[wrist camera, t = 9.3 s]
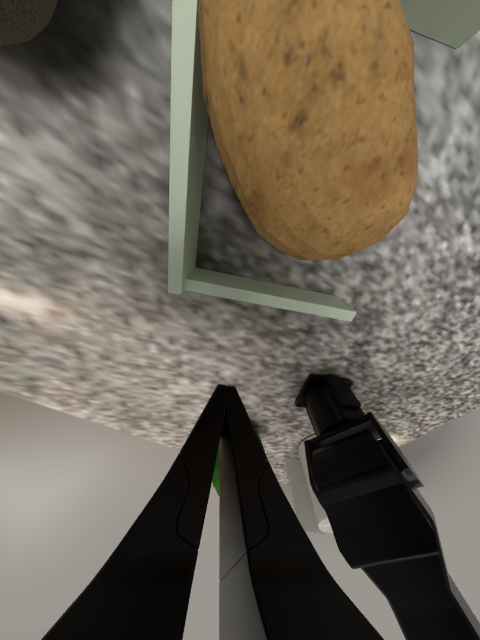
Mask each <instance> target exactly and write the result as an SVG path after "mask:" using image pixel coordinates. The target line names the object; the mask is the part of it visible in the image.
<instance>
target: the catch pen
mask: <svg viewBox="0 0 480 640" xmlns="http://www.w3.org/2000/svg"><path fill="white" fill-rule="evenodd" d="M399 1H400V4H401V7H402V10H403V13H404V16H405V19H406V21H407V24H408V27H409V29H410V30H412V31H414V32H417V33H419V34H422V35H424V36H427V37H429V38H431V39H434V40H436V41H439V42H441V43H444V44H446V45H448V46H451V47H453V48H456V49H457V48H458V47H459V46H461V45H462V44H463V43H464V42H466V41H467V40H468V39H469V38H471V37H472V36H473V35H475V34H476V33H477V32H478V31H480V0H399ZM199 2H200V0H172V58H171V123H170V187H169V252H168V293H173V294H178V295H182V293H183V292H184V291H189V292H194V293H200V294H205V295H210V296H216V297H221V298H227V299H232V300H237V301H243V302H248V303H253V304H259V305H264V306H270V307H275V308H280V309H286V310H291V311H296V312H302V313H307V314H313V315H318V316H323V317H329V318H334V319H339V320H345V321H350V322H351V321H352V320H353V318H354V316H355V315H356V313H357V312H356V311H355V310H354V309H352V308H351V307H349V306H348V305H347V304H345V303H344V302H343V301H341V300H340V299H339V298H337V297H336V296H334V295H329V294H324V293H319V292H314V291H309V290H304V289H299V288H294V287H289V286H284V285H279V284H275V283H270V282H265V281H260V280H255V279H250V278H245V277H240V276H235V275H230V274H225V273H220V272H215V271H210V270H205V269H200V268H195V267H196V255H197V244H198V233H199V221H200V210H201V198H202V187H203V175H204V164H205V152H206V141H207V129H208V118H209V115H208V112H207V108H206V104H205V100H204V97H203V84H202V66H201V48H200V31H199V13H198V8H199Z"/></svg>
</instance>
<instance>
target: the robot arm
mask: <svg viewBox="0 0 480 640" xmlns="http://www.w3.org/2000/svg"><path fill="white" fill-rule="evenodd" d="M352 385H353V382H352V381H351V380H349V379H342V378H335V377H329V376H322V375H315V374H312V375H310V376H309V377H308V379H307V381H306V383H305V385H304V386H303V388H302V390H301V392H300V394H299V396H298V397H297V399H296V401H295V404H296V406H297V407H305V408H306V410H307V413H308V415H309V418H310V421H311V423H312V426H313V429H314V431H315V434H316V437H314V438H312V439H310V440H305V441H304V445H305V454H306V461H307V467H308V474H309V480H310V485H311V487H312V491H313V493H314V494H315V495H316V498H317V500H318V501H319V503H320V505H321V506H322V508H323V509H324V510H325V512H326V515H327V517H328V520H329V522H330V525H331V528H332V531H333V534H334V537H335V540H336V543H337V546H338V548H339V550H340V552H341V554H342V555H343V557H344V558H345V560H346V561H347V563H348V564H349V565H350V567H351V568H353V569H357V568H361V569H362V570H363V571H364V572H365V573H366V574H367V576H368V577H369V578H370V579H371V581H372V582H373V583H374V584H375V585H376V586H377V587H378V589H379V590H380V591H381V592H382V593H383V595H384V596H385V597H386V598H387V600H388V602H389V604H390V606H391V608H392V610H393V612H394V614H395V617H396V618H397V621H398V623H399V625H400V628H401V630H402V632H403V634H404V636H405V639H406V640H480V623H479V622H478V620H477V619H476V617H475V615H474V614H473V612H472V611H471V609H470V607H469V606H468V604H467V603H466V601H465V599H464V598H463V596H462V595H461V593H460V591H459V590H458V588H457V587H456V585H455V583H454V582H453V580H452V579H451V577H450V575H449V574H448V571H447V568H446V563H445V559H444V555H443V551H442V547H441V542H440V538H439V534H438V530H437V525H436V521H435V517H434V514H433V512H432V510H431V509H430V507H429V506H428V504H427V503H426V501H425V500H424V498H423V497H422V495H421V494H420V492H419V491H418V490H417V488H420V487H423V484H422V482H421V481H420V479H419V478H418V476H417V475H416V473H415V472H414V470H413V468H412V467H411V465H410V464H409V462H408V461H407V459H406V458H405V456H404V455H403V453H402V452H401V450H400V449H399V447H398V446H397V445H396V443H395V442H394V441H393V439H392V438H391V436H390V435H389V434H388V432H387V431H386V430H385V428H384V427H383V426H382V425H381V424H380V422H379V421H378V420H377V419H376V418H375V417H374V415H373V414H372V413H371V412H369V413H367V414H366V415H365V414H364V412H363V411H362V409H361V408H360V407H361V404H360V402H359V401H358V399H357V398H356V396H355V395H354V393H353V392H352V391H351V389H350V388H351V386H352ZM380 438H382V439H380ZM378 439H380V440H378ZM219 442H220V567H219V569H220V570H219V572H220V573H219V574H220V575H219V576H220V577H219V579H220V583H219V586H220V588H219V589H220V590H219V612H220V613H219V616H220V617H219V618H220V619H219V621H220V622H219V640H384V639H383V638H382V637H381V636H380V634H379V633H378V632H377V631H376V630H375V628H374V627H373V626H372V625H371V624H370V622H369V621H368V620H367V619H366V618H365V617H364V615H363V614H362V613H361V612H360V611H359V609H358V608H357V607H356V606H355V605H354V603H353V602H352V601H351V600H350V599H349V597H348V596H347V595H346V594H345V593H344V592H343V590H342V589H341V588H340V587H339V585H338V584H337V583H336V581H335V580H334V579H333V577H332V576H331V575H330V573H329V572H328V570H327V569H326V567H325V566H324V564H323V562H322V561H321V559H320V557H319V556H318V554H317V552H316V550H315V549H314V547H313V545H312V543H311V541H310V540H309V538H308V536H307V534H306V532H305V531H304V529H303V527H302V525H301V523H300V522H299V520H298V518H297V516H296V514H295V513H294V511H293V509H292V508H291V505H290V504H289V502H288V500H287V498H286V496H285V494H284V492H283V490H282V489H281V487H280V485H279V482H278V480H277V478H276V476H275V474H274V472H273V470H272V467H271V465H270V463H269V461H267V460H268V459H267V456H266V454H265V452H264V450H263V447H262V445H261V443H260V441H259V439H258V436H257V434H256V432H255V430H254V427H253V425H252V423H251V421H250V418H249V416H248V414H247V412H246V409H245V407H244V405H243V403H242V401H241V398H240V396H239V394H238V392H237V389H236V387H235V386H230V385H227V386H226V385H222V384H218V385H217V387H216V389H215V391H214V392H213V394H212V396H211V398H210V399H209V401H208V403H207V405H206V406H205V408H204V410H203V412H202V414H201V415H200V417H199V419H198V421H197V422H196V424H195V426H194V428H193V430H192V431H191V433H190V435H189V437H188V438H187V440H186V442H185V444H184V446H183V447H182V449H181V451H180V454H178V456H177V458H176V460H175V461H174V463H173V465H172V466H171V468H170V470H169V471H168V473H167V475H166V476H165V478H164V480H163V481H162V483H161V484H160V486H159V487H158V489H157V490H156V492H155V493H154V495H153V497H152V498H151V499H150V501H149V502H148V504H147V505H146V506H145V508H144V509H143V511H142V512H141V514H140V515H139V516H138V518H137V519H136V521H135V522H134V524H133V525H132V526H131V528H130V529H129V531H128V532H127V534H126V535H125V536H124V538H123V539H122V541H121V542H120V544H119V545H118V546H117V548H116V549H115V550H114V552H113V553H112V555H111V556H110V557H109V559H108V560H107V562H106V563H105V564H104V565H103V567H102V568H101V569H100V571H99V572H98V573H97V575H96V576H95V577H94V578H93V580H92V581H91V582H90V584H89V585H88V586H87V587H86V588H85V590H84V591H83V592H82V593H81V594H80V595H79V596H78V598H77V599H76V600H75V601H74V602H73V603H72V604H71V606H70V607H69V608H68V609H67V610H66V611H65V613H64V614H63V615H62V616H61V617H60V618H59V619H58V621H57V622H56V623H55V624H54V625H53V626H52V628H51V629H50V630H49V631H48V632H47V634H46V635H45V636H44V637H43V638H42V639H41V640H182V639H183V633H184V627H185V621H186V615H187V610H188V604H189V598H190V593H191V586H192V581H193V576H194V570H195V565H196V560H197V555H198V549H199V545H200V539H201V534H202V529H203V524H204V519H205V514H206V509H207V504H208V499H209V494H210V488H211V483H212V478H213V473H214V468H215V463H216V458H217V453H218V448H219Z"/></svg>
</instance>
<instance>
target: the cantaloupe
mask: <svg viewBox="0 0 480 640" xmlns="http://www.w3.org/2000/svg"><path fill="white" fill-rule="evenodd" d="M56 5H57V0H0V46H5V45H12V44H19V43H23V42H26V41H29V40H31V39H32V38H33V37H35V36H36V35H37V34H39V33H40V32H41V31H42V30H43V29H45V27H46V26H47V25H48V23H49V22H50V20H51V18H52V15H53V13H54V10H55V8H56Z"/></svg>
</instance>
